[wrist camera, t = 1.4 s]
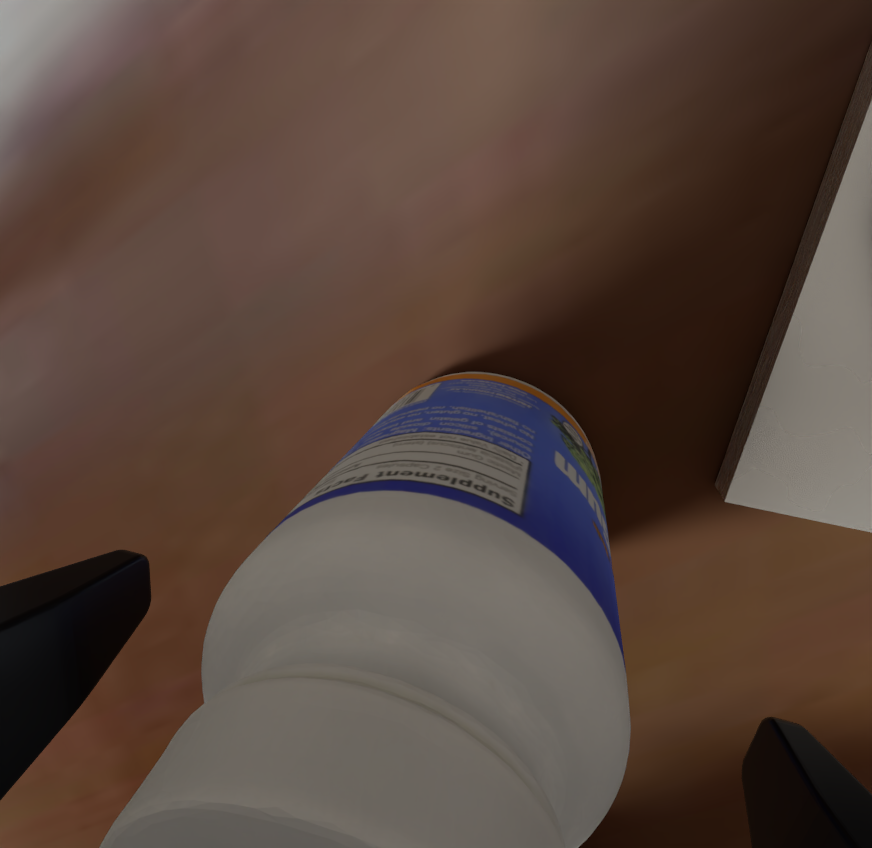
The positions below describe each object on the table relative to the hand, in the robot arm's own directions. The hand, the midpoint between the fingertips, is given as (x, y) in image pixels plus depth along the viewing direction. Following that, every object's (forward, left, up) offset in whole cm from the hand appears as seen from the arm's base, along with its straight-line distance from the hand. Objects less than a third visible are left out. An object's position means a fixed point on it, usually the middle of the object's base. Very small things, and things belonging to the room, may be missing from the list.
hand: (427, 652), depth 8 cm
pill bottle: (0, 0, -6) cm, 6 cm away
